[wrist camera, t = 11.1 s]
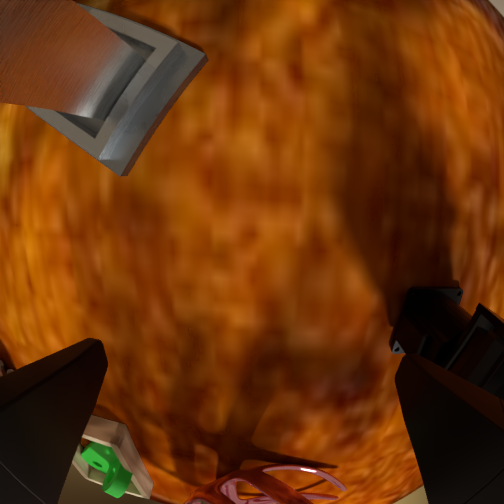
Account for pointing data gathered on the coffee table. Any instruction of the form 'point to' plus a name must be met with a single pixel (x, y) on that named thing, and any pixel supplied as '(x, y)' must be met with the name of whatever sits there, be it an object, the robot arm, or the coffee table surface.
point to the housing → (132, 95)
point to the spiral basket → (260, 487)
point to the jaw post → (62, 58)
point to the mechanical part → (108, 468)
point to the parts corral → (124, 450)
